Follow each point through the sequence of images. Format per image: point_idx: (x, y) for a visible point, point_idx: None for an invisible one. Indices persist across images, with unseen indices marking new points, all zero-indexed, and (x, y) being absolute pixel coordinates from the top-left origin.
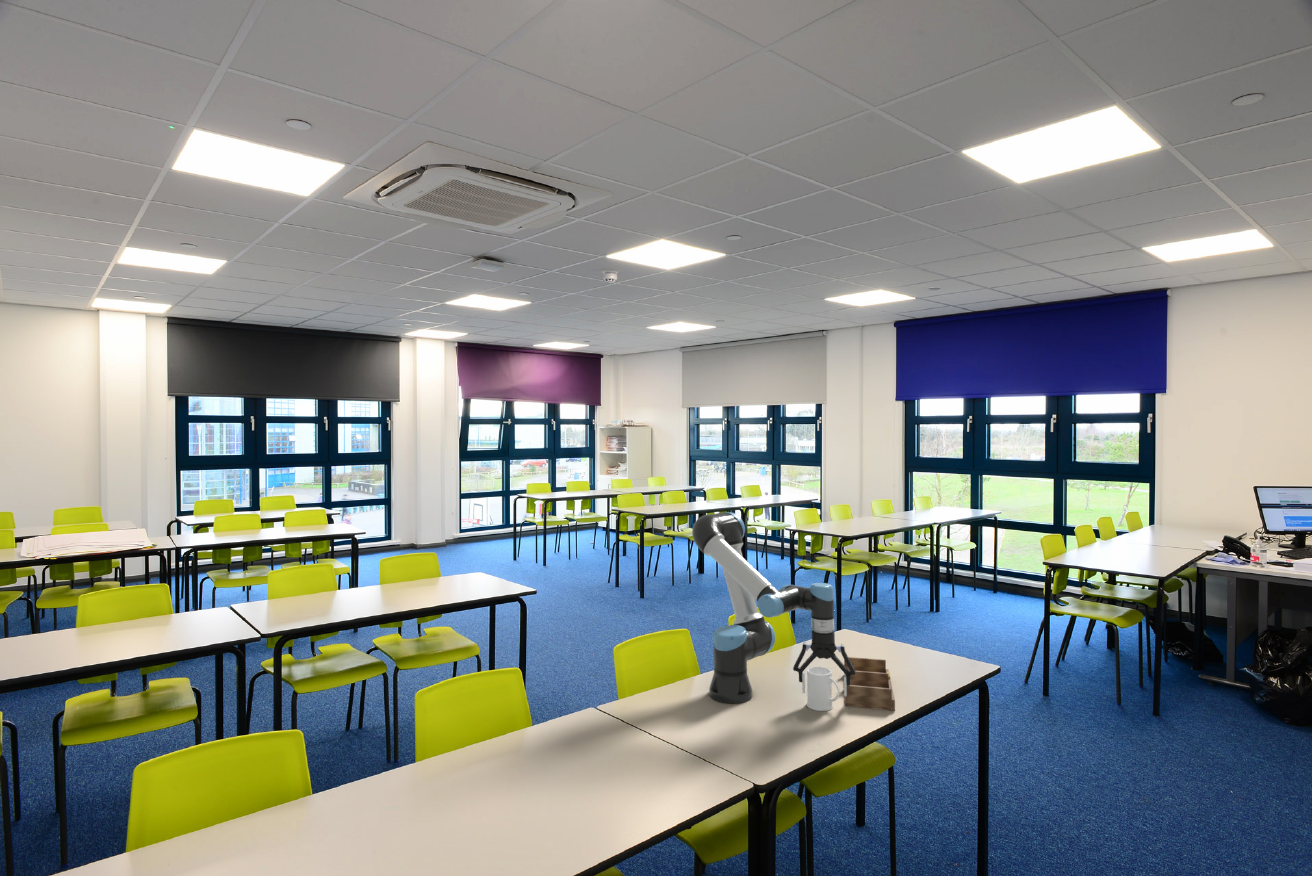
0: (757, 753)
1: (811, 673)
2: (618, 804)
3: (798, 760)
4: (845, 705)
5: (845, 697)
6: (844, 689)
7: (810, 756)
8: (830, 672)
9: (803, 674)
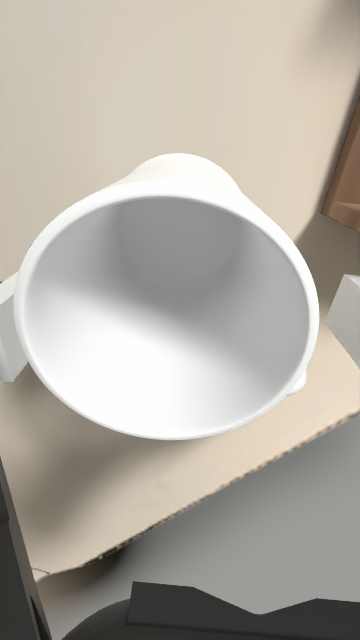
0: (22, 520)
1: (81, 413)
2: None
3: (113, 532)
4: (324, 213)
5: (346, 225)
6: (344, 347)
7: (138, 521)
8: (291, 378)
9: (7, 375)
